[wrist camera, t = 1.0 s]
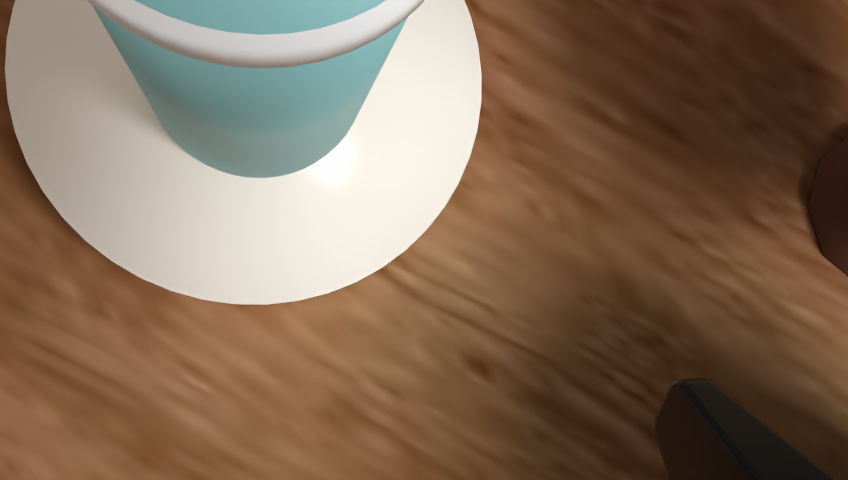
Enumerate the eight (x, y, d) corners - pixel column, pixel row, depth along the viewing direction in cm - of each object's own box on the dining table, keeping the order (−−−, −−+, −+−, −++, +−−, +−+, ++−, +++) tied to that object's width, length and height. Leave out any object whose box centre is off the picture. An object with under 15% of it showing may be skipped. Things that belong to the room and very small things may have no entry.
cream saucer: (507, 262, 24) (518, 260, 23) (57, 344, 21) (47, 346, 20) (432, -147, 24) (439, -166, 23) (-18, -119, 22) (-32, -138, 21)
